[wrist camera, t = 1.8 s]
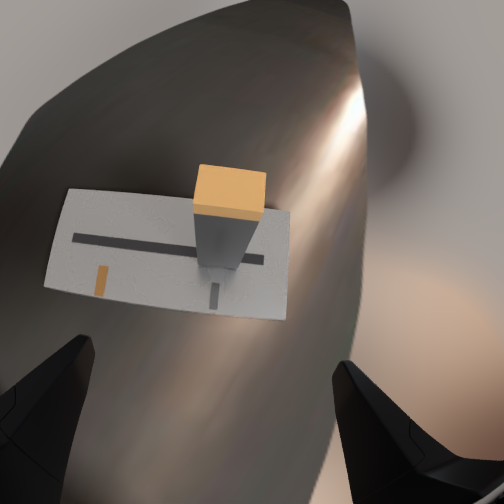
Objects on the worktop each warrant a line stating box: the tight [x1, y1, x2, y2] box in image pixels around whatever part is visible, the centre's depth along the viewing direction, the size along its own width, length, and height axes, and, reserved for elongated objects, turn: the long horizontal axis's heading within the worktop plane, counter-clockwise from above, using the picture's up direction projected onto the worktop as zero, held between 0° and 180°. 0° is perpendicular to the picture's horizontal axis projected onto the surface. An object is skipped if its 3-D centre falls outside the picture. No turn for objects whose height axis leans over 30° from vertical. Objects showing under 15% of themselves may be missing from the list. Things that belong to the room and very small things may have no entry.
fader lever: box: [193, 164, 266, 269], centre depth 17 cm, size 3×2×10 cm, turn 85°
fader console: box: [44, 189, 290, 321], centre depth 22 cm, size 20×9×2 cm, turn 85°
